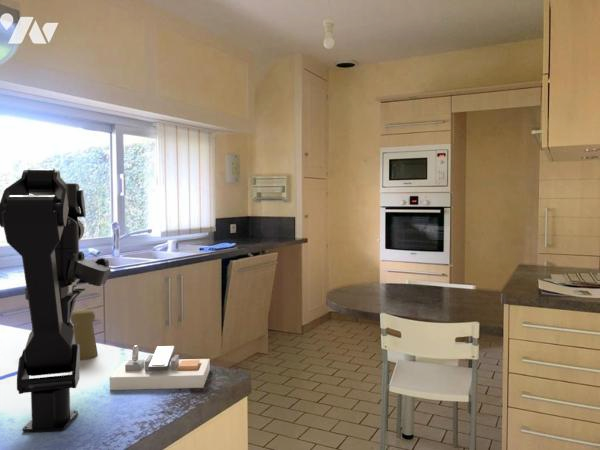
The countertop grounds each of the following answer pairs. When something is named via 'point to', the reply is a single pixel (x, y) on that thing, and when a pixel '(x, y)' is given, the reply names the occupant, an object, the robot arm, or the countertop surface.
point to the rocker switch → (161, 358)
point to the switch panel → (158, 375)
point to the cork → (84, 333)
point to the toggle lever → (135, 353)
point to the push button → (189, 365)
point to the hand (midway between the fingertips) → (64, 327)
